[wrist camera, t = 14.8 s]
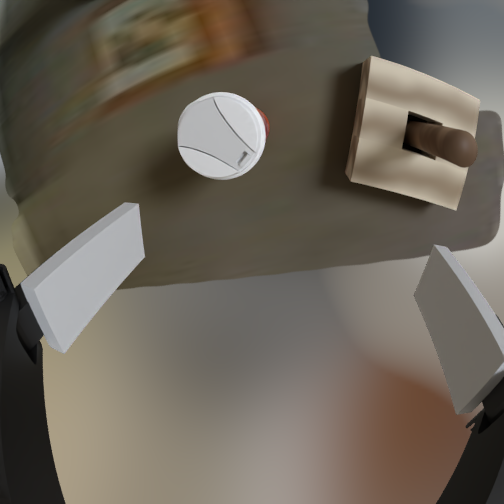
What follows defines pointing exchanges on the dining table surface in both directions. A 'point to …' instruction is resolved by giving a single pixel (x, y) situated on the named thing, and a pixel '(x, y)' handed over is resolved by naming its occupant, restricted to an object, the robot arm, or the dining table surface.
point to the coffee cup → (222, 135)
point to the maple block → (393, 130)
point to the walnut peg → (442, 142)
